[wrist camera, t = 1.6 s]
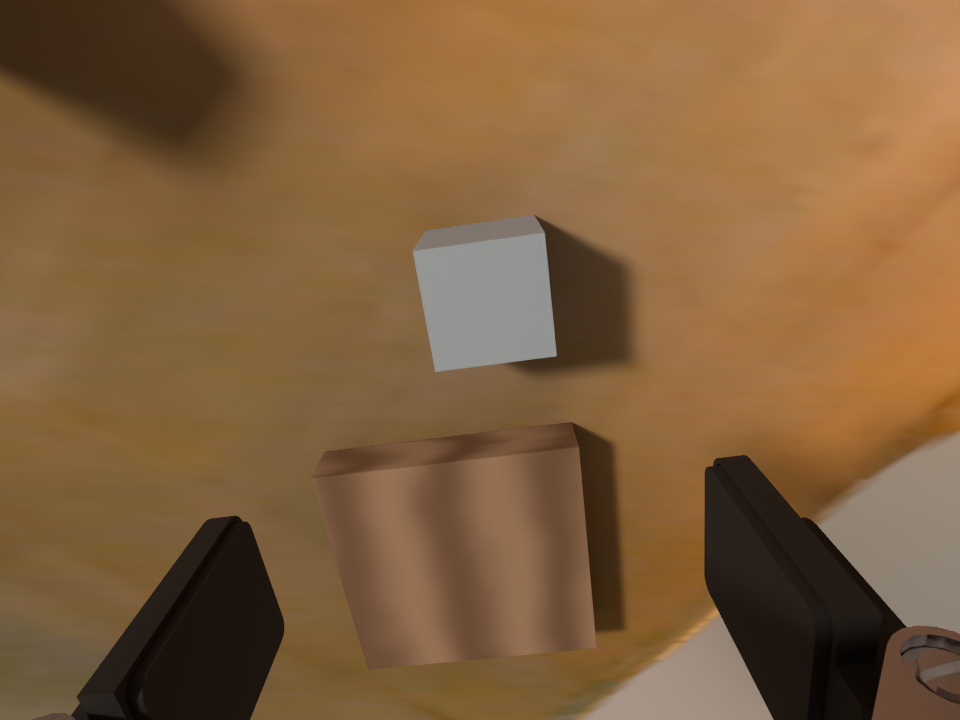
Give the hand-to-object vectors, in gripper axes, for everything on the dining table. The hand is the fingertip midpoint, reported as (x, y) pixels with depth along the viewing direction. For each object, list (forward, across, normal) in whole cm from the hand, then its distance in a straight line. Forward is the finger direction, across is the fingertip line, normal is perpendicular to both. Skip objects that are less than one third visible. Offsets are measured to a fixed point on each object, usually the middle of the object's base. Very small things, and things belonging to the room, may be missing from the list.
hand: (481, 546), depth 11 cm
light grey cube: (+22, 0, -1) cm, 22 cm away
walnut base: (+22, +4, +17) cm, 29 cm away
